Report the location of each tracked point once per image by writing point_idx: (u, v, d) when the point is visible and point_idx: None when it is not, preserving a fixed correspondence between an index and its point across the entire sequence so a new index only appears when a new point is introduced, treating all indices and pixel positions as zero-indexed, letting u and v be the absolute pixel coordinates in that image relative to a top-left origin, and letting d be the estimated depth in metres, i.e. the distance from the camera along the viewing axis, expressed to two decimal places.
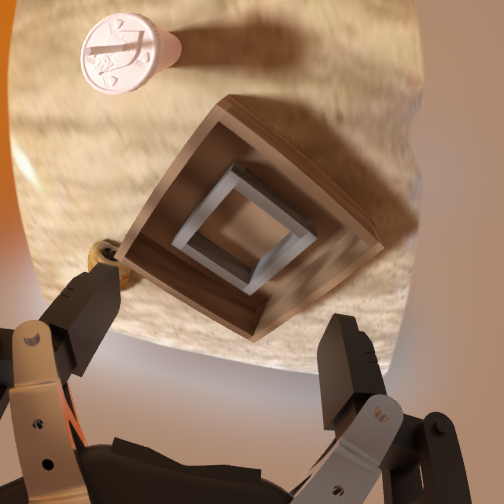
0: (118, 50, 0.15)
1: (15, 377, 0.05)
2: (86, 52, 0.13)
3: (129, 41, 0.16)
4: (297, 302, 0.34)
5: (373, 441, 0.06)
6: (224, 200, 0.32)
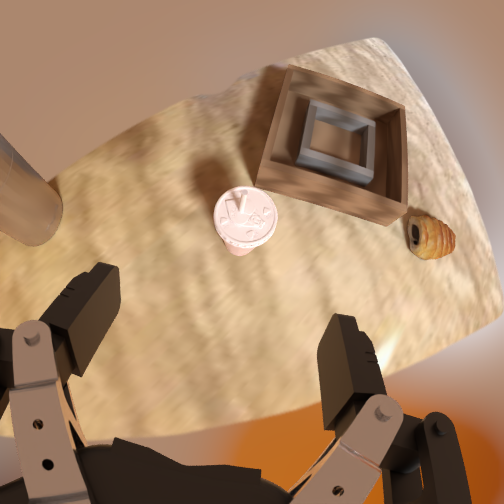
0: None
1: (15, 377, 0.05)
2: (245, 193, 0.26)
3: (234, 205, 0.30)
4: (356, 91, 0.42)
5: (373, 441, 0.06)
6: None
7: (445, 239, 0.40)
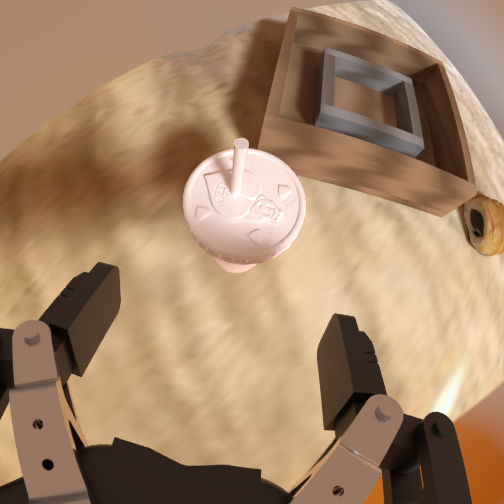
0: None
1: (15, 377, 0.05)
2: (243, 146, 0.11)
3: (222, 182, 0.15)
4: (382, 40, 0.27)
5: (374, 441, 0.06)
6: None
7: None
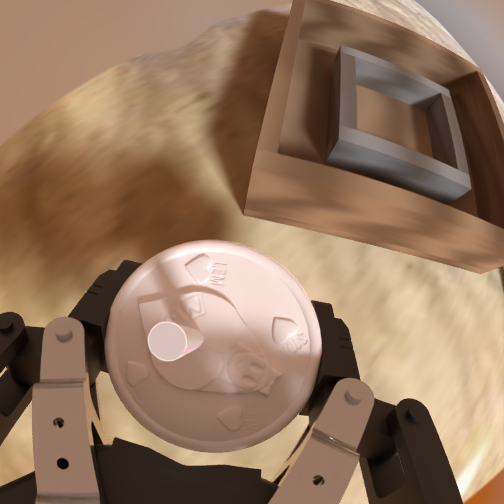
0: None
1: (41, 371, 0.06)
2: (173, 346, 0.04)
3: (169, 320, 0.08)
4: (413, 39, 0.20)
5: (348, 426, 0.06)
6: None
7: None
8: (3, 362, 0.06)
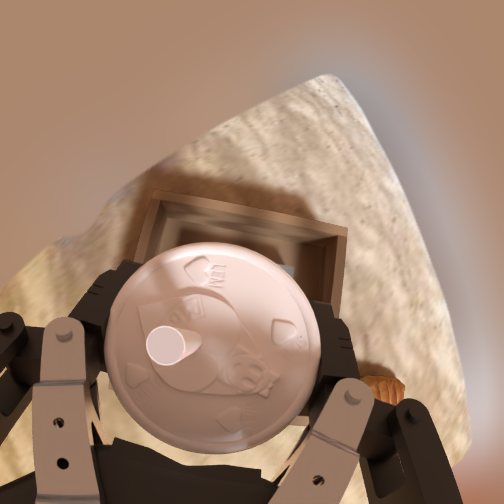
0: None
1: (41, 371, 0.06)
2: (171, 349, 0.04)
3: (168, 322, 0.08)
4: (263, 220, 0.30)
5: (347, 426, 0.06)
6: None
7: None
8: (3, 362, 0.06)
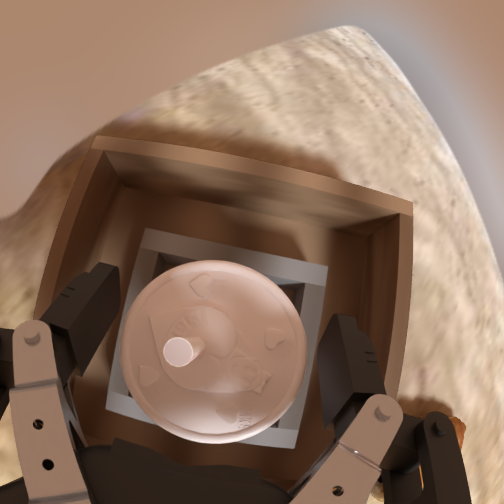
0: (196, 337, 0.09)
1: (15, 377, 0.05)
2: (182, 355, 0.05)
3: (175, 330, 0.09)
4: (274, 182, 0.17)
5: (373, 441, 0.06)
6: None
7: None
8: None
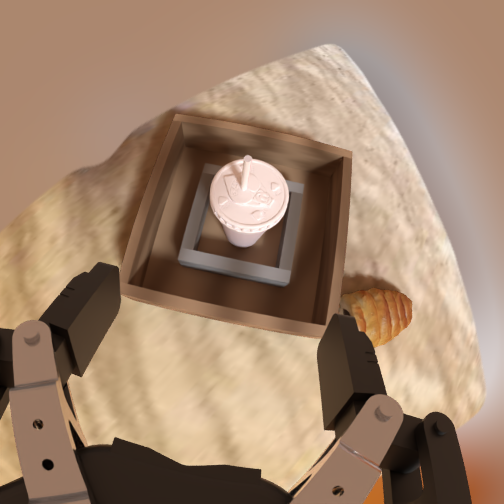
0: None
1: (15, 377, 0.05)
2: (248, 160, 0.20)
3: (235, 181, 0.24)
4: (274, 140, 0.32)
5: (373, 441, 0.06)
6: None
7: (394, 318, 0.30)
8: None
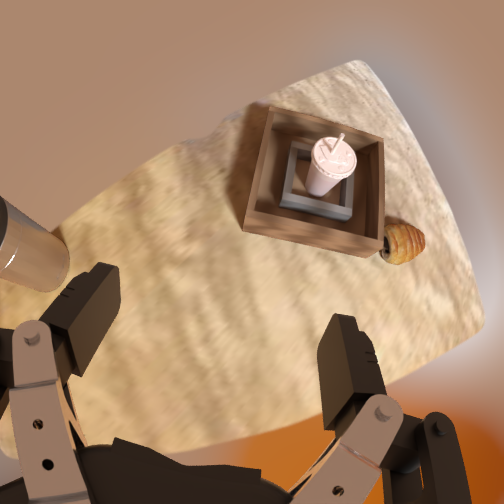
0: None
1: (15, 376, 0.05)
2: (342, 135, 0.35)
3: (327, 149, 0.39)
4: (335, 128, 0.47)
5: (373, 441, 0.06)
6: None
7: (414, 242, 0.46)
8: None
